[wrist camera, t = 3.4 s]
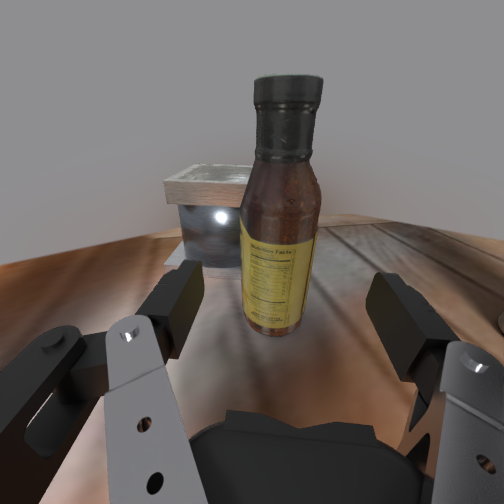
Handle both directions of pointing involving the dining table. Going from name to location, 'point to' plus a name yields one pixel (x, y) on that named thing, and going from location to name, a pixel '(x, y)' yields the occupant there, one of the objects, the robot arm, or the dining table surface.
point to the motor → (209, 217)
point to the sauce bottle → (280, 204)
